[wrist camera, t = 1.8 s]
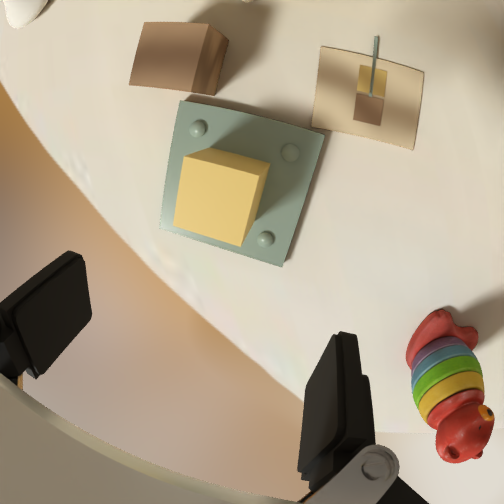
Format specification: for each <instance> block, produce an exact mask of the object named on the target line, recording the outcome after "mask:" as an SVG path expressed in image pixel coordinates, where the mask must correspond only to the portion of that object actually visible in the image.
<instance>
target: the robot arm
mask: <svg viewBox="0 0 504 504" xmlns="http://www.w3.org/2000/svg"><path fill="white" fill-rule="evenodd" d="M91 317H92V310H91V304H90V297H89V290H88V283H87V276H86V266H85V261H84V260H83V257H82V255H80V254H78V253H75V252H73V251H67V252H65V253H64V254H62V255H61V256H59V257H58V258H57V259H55V260H54V261H53V262H51V263H50V264H49V265H47V266H46V267H44V268H43V269H42V270H41V271H39V272H38V273H37V274H35V275H34V276H33V277H31V278H30V279H29V280H28V281H26V282H25V283H24V284H23V285H21V286H20V287H19V288H17V290H15V291H14V292H13V293H11V294H10V295H9V296H8V297H6V299H4V300H3V301H2V302H1V303H0V504H429V503H427V501H425V500H424V499H423V498H422V497H421V496H420V495H419V494H417V493H416V492H415V491H414V490H413V489H412V488H411V487H409V486H408V485H407V484H406V483H405V482H404V481H403V480H401V479H400V478H399V477H398V474H399V461H398V459H397V457H396V455H395V454H394V453H393V452H392V450H390V449H389V448H387V447H385V446H382V445H376V443H375V429H374V418H373V408H372V399H371V390H370V382H369V378H368V376H367V375H362V370H361V362H360V354H359V347H358V339H357V335H356V334H351V333H347V332H342V331H340V332H339V333H338V335H336V334H333V335H332V337H331V339H330V341H329V343H328V345H327V347H326V349H325V351H324V353H323V354H322V356H321V358H320V360H319V362H318V364H317V366H316V368H315V370H314V371H313V373H312V375H311V377H310V379H309V381H308V383H307V385H306V389H305V398H304V410H303V422H302V432H301V441H300V450H299V459H298V467H297V469H298V472H301V473H302V477H301V480H305V481H309V489H310V490H311V491H310V492H309V493H307V494H306V495H305V496H304V497H302V498H301V499H300V500H299V501H297V502H293V501H288V500H283V499H278V498H273V497H268V496H263V495H257V494H253V493H248V492H244V491H240V490H235V489H231V488H227V487H224V486H220V485H216V484H212V483H209V482H206V481H202V480H199V479H195V478H192V477H189V476H186V475H183V474H180V473H177V472H174V471H172V470H169V469H166V468H163V467H160V466H158V465H156V464H153V463H151V462H148V461H146V460H143V459H141V458H139V457H136V456H134V455H132V454H130V453H127V452H125V451H123V450H121V449H119V448H117V447H115V446H112V445H110V444H108V443H106V442H104V441H102V440H101V439H99V438H97V437H95V436H93V435H91V434H89V433H88V432H86V431H84V430H82V429H80V428H79V427H77V426H75V425H74V424H72V423H70V422H68V421H67V420H65V419H64V418H62V417H60V416H59V415H57V414H56V413H54V412H52V411H51V410H50V409H48V408H47V407H45V406H44V405H42V404H41V403H39V402H38V401H36V400H35V399H34V398H32V397H31V396H29V395H28V394H27V393H25V392H24V391H23V372H24V371H25V370H26V372H27V373H28V374H29V375H30V376H32V377H33V378H35V379H37V378H38V377H39V375H42V374H44V373H45V372H46V371H47V369H48V368H49V367H50V366H51V365H52V364H53V362H54V361H55V360H56V359H57V358H58V356H59V355H60V354H61V353H62V352H63V351H64V349H65V348H66V347H67V346H68V345H69V344H70V343H71V341H72V340H73V339H74V338H75V337H76V336H77V335H78V333H79V332H80V331H81V330H82V329H83V328H84V327H85V326H86V325H87V323H88V322H89V321H90V320H91Z"/></svg>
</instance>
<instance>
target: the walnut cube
mask: <svg viewBox="0 0 504 504" xmlns="http://www.w3.org/2000/svg"><path fill="white" fill-rule="evenodd" d="M228 42H229V40H228V39H227V38H226V37H224V36H223V35H222V34H221V33H220V32H218V31H217V30H216V29H215V28H213V27H212V26H211V25H210V24H203V23H186V22H144V25H143V29H142V32H141V36H140V40H139V43H138V47H137V51H136V55H135V59H134V63H133V68H132V72H131V77H130V81H129V85H134V86H145V87H155V88H164V89H172V90H179V91H186V92H193V93H199V94H206V95H211V96H214V95H215V91H216V87H217V83H218V79H219V76H220V72H221V68H222V64H223V60H224V57H225V53H226V49H227V46H228Z"/></svg>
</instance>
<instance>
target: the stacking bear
mask: <svg viewBox="0 0 504 504" xmlns="http://www.w3.org/2000/svg"><path fill="white" fill-rule="evenodd" d="M477 342H478V332H477V331H476V330H475V329H474V328H473V327H458V326H457V325H455V324H454V323H453V320H452V316H451V314H450V313H449V312H446V311H444V310H439V311H435V312H433V313H431V314H430V315H428V316H427V317H426V318H425V320H424V321H423V322H422V323H421V324H420V325H419V327H418V328H417V329H416V331H415V333H414V334H413V336H412V338H411V340H410V342H409V344H408V347H407V351H406V361H407V364H408V366H409V367H410V369H411V370H412V373H411V375H412V380H411V384H412V394H413V398H414V401H415V404H416V406H417V408H418V410H419V412H420V414H421V416H422V418H423V419H424V421H425V422H426V423H427V424H428V425H429V426H430V427H432V428H433V429H436V430H437V434H436V450H437V452H438V454H439V456H440V457H441V458H442V459H443V460H444V461H446V462H449V463H461V462H464V461H466V460H468V459H470V458H473V459H478V458H480V457H481V456H482V454H483V449H484V447H485V446H486V445H487V443H488V441H489V439H490V436H491V433H492V430H493V426H494V413H493V412H492V410H491V409H490V408H488V407H487V406H485V405H483V402H484V382H483V375H482V370H481V367H480V364H479V362H478V360H477V358H476V356H475V355H474V353H473V352H472V350H473V349H474V348H475V346H476V345H477Z"/></svg>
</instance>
